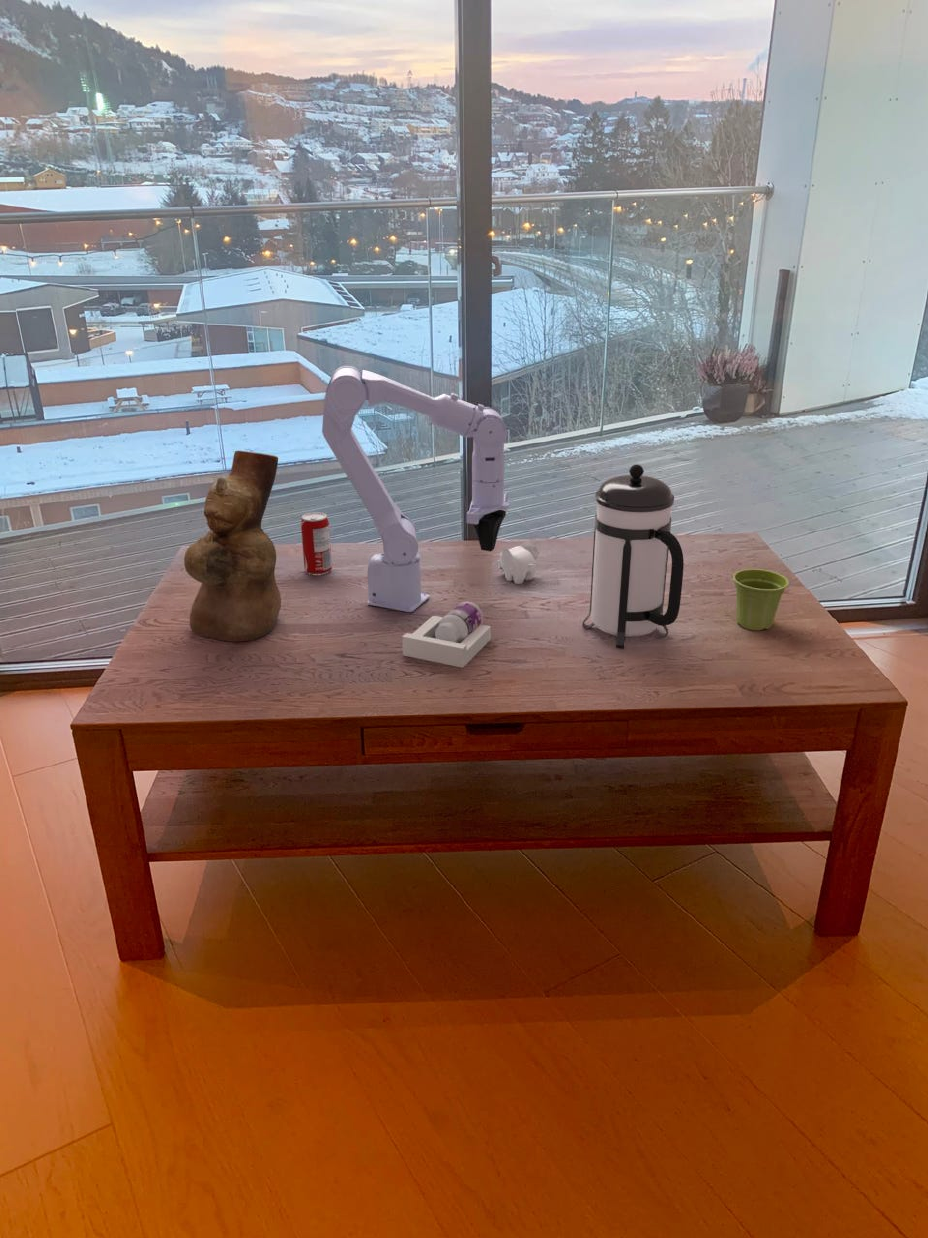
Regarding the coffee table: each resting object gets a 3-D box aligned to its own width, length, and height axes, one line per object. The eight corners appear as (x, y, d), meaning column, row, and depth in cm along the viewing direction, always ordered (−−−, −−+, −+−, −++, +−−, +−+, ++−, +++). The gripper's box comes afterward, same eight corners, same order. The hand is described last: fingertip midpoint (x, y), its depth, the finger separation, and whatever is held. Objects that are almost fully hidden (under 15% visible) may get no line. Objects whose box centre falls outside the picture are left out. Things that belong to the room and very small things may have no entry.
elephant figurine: (510, 566, 194) (510, 533, 191) (546, 578, 188) (547, 545, 185) (484, 576, 189) (485, 543, 186) (521, 589, 183) (521, 555, 180)
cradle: (403, 655, 158) (402, 636, 156) (433, 628, 167) (433, 610, 166) (462, 667, 154) (462, 648, 152) (490, 639, 163) (490, 621, 162)
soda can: (309, 565, 195) (304, 509, 190) (335, 566, 195) (331, 510, 190) (301, 575, 190) (296, 518, 185) (327, 576, 190) (323, 519, 185)
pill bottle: (482, 632, 165) (457, 655, 157) (455, 623, 167) (429, 646, 159) (485, 605, 162) (461, 627, 155) (458, 596, 164) (432, 617, 156)
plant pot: (785, 618, 171) (792, 573, 167) (778, 639, 163) (784, 592, 159) (732, 609, 174) (738, 565, 171) (723, 629, 166) (728, 584, 163)
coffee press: (571, 645, 161) (579, 474, 148) (592, 609, 175) (601, 449, 162) (673, 661, 155) (691, 484, 143) (687, 622, 169) (704, 458, 157)
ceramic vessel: (172, 633, 166) (147, 467, 154) (252, 590, 184) (236, 437, 171) (243, 652, 159) (223, 479, 147) (319, 605, 177) (307, 447, 164)
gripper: (492, 492, 162) (492, 565, 168) (523, 470, 174) (522, 540, 180) (455, 487, 165) (456, 560, 170) (488, 466, 177) (487, 535, 182)
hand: (487, 549), depth 175 cm, fingers closed
